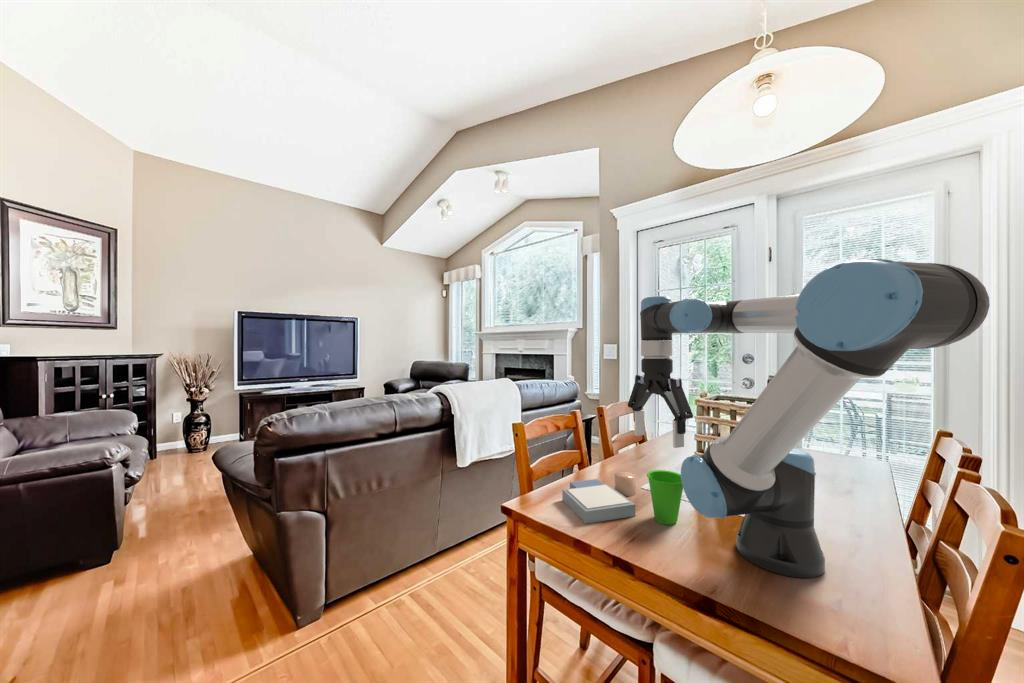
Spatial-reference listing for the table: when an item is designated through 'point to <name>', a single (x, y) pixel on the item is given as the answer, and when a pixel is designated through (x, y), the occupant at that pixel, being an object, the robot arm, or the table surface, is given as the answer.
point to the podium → (598, 503)
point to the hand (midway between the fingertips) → (657, 440)
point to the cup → (665, 495)
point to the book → (585, 483)
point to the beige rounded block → (625, 483)
